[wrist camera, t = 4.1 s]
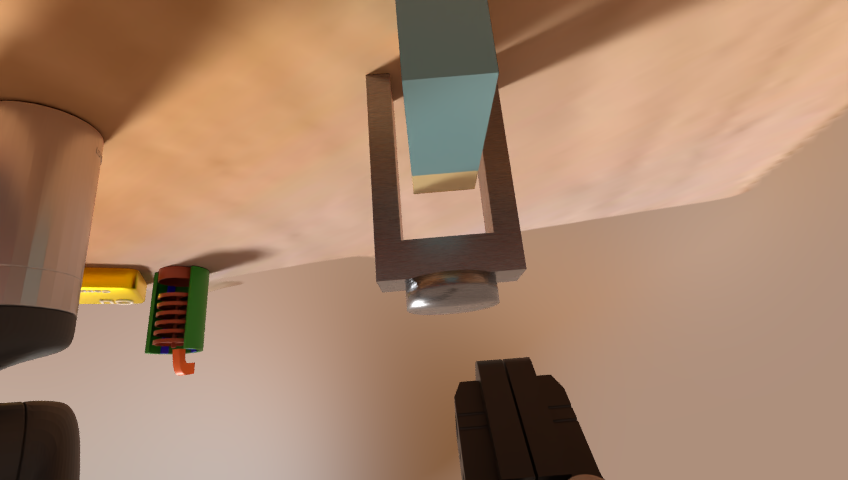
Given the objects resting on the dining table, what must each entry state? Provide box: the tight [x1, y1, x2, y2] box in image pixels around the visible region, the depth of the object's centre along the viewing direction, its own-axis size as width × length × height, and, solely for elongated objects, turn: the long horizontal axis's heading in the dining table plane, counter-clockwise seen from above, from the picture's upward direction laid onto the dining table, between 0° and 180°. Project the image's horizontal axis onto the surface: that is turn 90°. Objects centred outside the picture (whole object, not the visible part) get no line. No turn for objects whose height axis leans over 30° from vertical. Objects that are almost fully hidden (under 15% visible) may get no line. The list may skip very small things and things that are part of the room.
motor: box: [145, 266, 209, 375], centre depth 87 cm, size 10×9×20 cm
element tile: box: [79, 267, 147, 305], centre depth 88 cm, size 15×15×5 cm
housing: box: [366, 74, 526, 315], centre depth 37 cm, size 7×11×20 cm, turn 91°
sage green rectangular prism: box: [395, 0, 499, 194], centre depth 29 cm, size 13×4×12 cm, turn 1°
